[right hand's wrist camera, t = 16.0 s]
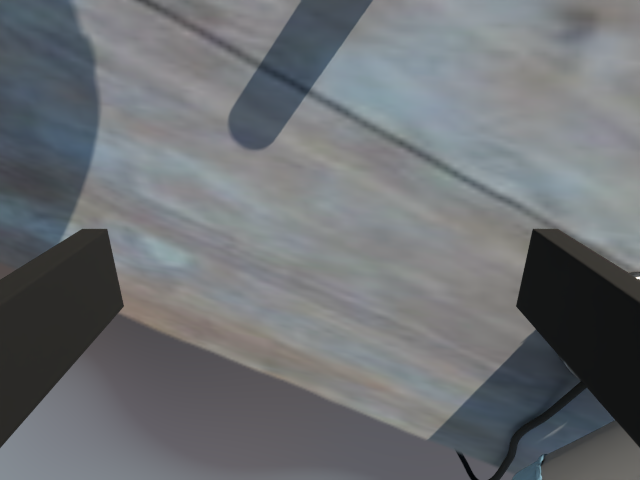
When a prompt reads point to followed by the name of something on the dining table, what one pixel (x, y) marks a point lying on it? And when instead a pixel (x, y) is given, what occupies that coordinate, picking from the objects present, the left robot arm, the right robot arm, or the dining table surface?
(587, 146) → the dining table surface
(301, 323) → the dining table surface
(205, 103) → the dining table surface
